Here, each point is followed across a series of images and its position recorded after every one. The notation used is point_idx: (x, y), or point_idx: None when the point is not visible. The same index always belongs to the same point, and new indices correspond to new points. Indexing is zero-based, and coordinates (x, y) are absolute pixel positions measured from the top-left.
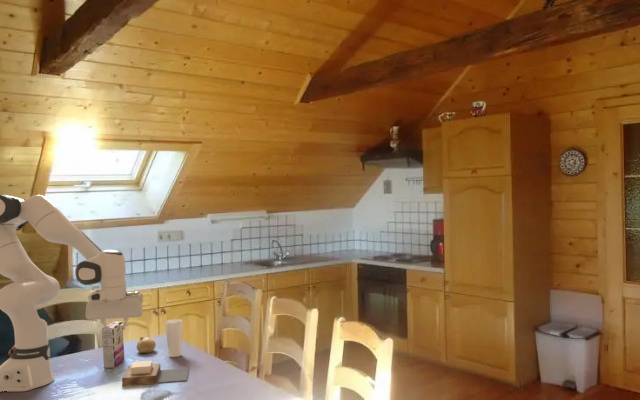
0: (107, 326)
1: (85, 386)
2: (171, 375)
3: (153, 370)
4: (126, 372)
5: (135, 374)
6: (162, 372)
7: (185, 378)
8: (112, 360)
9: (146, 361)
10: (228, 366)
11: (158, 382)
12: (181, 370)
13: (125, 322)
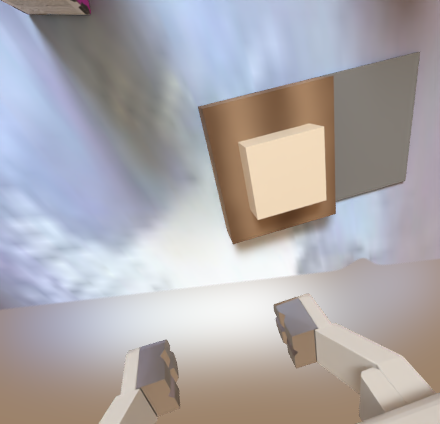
0: (168, 408)
1: (103, 241)
2: (361, 141)
3: None
4: (227, 191)
5: None
6: None
7: (402, 169)
8: (65, 4)
9: (301, 141)
10: None
11: None
12: (392, 85)
13: (357, 382)
